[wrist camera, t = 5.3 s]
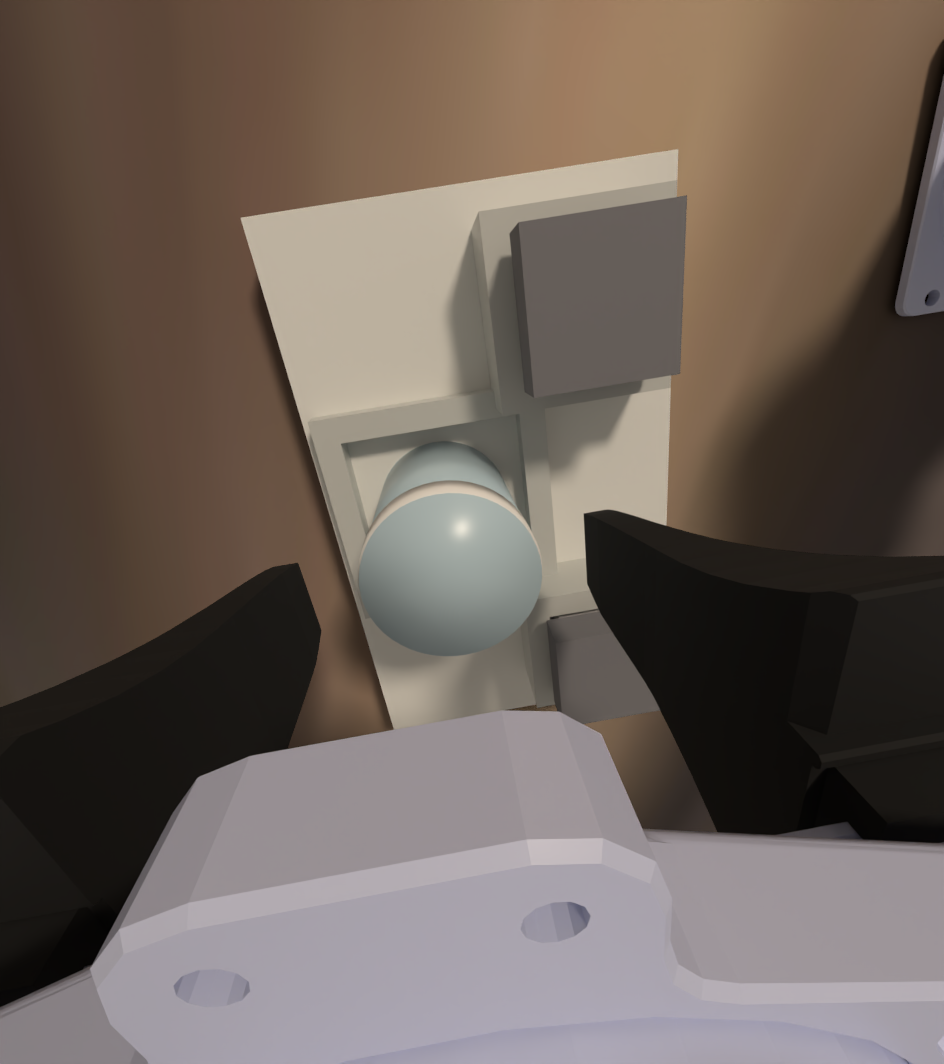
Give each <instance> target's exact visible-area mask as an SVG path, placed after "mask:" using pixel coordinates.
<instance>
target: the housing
mask: <svg viewBox="0 0 944 1064" xmlns="http://www.w3.org/2000/svg"><path fill="white" fill-rule="evenodd" d="M677 170H678V149H676V150H670V151H664V152H657V153H651V154H645V155H638V156H632V157H625V158H619V159H613V160H606V161H600V162H594V163H587V164H581V165H575V166H568V167H562V168H555V169H549V170H543V171H536V172H530V173H524V174H517V175H511V176H504V177H498V178H492V179H485V180H479V181H473V182H466V183H460V184H453V185H447V186H441V187H434V188H428V189H422V190H415V191H409V192H402V193H396V194H390V195H383V196H377V197H371V198H364V199H358V200H351V201H345V202H339V203H332V204H326V205H320V206H313V207H307V208H301V209H294V210H288V211H281V212H275V213H269V214H262V215H256V216H250V217H243V218H241V221H242V224H243V228H244V231H245V234H246V238H247V241H248V244H249V248H250V251H251V254H252V258H253V261H254V264H255V268H256V271H257V274H258V278H259V281H260V284H261V288H262V291H263V294H264V298H265V301H266V304H267V308H268V311H269V314H270V318H271V321H272V324H273V328H274V331H275V334H276V338H277V341H278V344H279V348H280V351H281V354H282V358H283V361H284V364H285V368H286V371H287V374H288V378H289V381H290V384H291V388H292V391H293V394H294V398H295V401H296V404H297V408H298V411H299V414H300V418H301V421H302V424H303V428H304V431H305V435H306V438H307V441H308V445H309V448H310V451H311V455H312V458H313V461H314V465H315V468H316V471H317V475H318V478H319V481H320V485H321V488H322V491H323V495H324V498H325V501H326V505H327V508H328V511H329V515H330V518H331V521H332V525H333V528H334V531H335V535H336V538H337V541H338V545H339V548H340V551H341V555H342V558H343V561H344V565H345V568H346V571H347V575H348V578H349V581H350V585H351V588H352V591H353V595H354V598H355V601H356V605H357V608H358V611H359V615H360V618H361V621H362V625H363V628H364V631H365V635H366V638H367V641H368V645H369V648H370V651H371V655H372V658H373V661H374V665H375V668H376V671H377V675H378V678H379V681H380V685H381V688H382V691H383V695H384V698H385V702H386V705H387V708H388V712H389V715H390V718H391V722H392V725H393V728H394V730H395V729H401V728H406V727H412V726H417V725H423V724H428V723H434V722H439V721H445V720H450V719H456V718H461V717H467V716H472V715H478V714H484V713H489V712H495V711H500V710H508V709H514V708H520V707H525V706H531V705H536V706H537V708H539V707H544V706H550V705H555V702H554V693H553V682H552V672H551V661H550V651H549V641H548V630H547V620H552V619H554V616H559V615H565V614H570V613H576V612H582V611H588V610H593V609H598V607H597V605H596V603H595V601H594V598H593V596H592V594H591V592H590V589H589V587H588V585H587V572H586V552H585V533H584V513H590V512H595V511H601V510H607V509H609V510H615V511H619V512H623V513H626V514H630V515H633V516H636V517H640V518H643V519H646V520H649V521H652V522H655V523H659V524H662V525H665V526H666V520H667V488H668V456H669V424H670V393H671V375H670V376H664V377H658V378H652V379H646V380H640V381H634V382H628V383H622V384H616V385H610V386H604V387H598V388H592V389H586V390H580V391H574V392H568V393H562V394H556V395H550V396H544V397H538V398H533V397H532V396H530V395H529V394H527V393H525V390H524V380H523V370H522V359H521V349H520V338H519V328H518V318H517V307H516V297H515V287H514V276H513V266H512V255H511V245H510V235H509V233H510V232H511V231H512V230H513V228H514V227H515V226H516V225H517V223H518V222H523V221H529V220H535V219H542V218H548V217H554V216H561V215H567V214H573V213H579V212H586V211H592V210H598V209H605V208H611V207H617V206H624V205H630V204H636V203H642V202H649V201H655V200H661V199H668V198H674V197H677ZM440 441H449V442H457V443H461V444H465V445H468V446H470V447H472V448H475V449H477V450H478V451H480V452H481V453H483V454H484V455H485V456H487V457H488V458H489V459H490V460H491V461H492V462H493V463H494V465H495V466H496V467H497V469H498V470H499V472H500V474H501V476H502V478H503V480H504V482H505V484H506V486H507V488H508V490H509V492H510V494H511V496H512V498H513V500H514V502H515V504H516V506H517V508H518V510H519V511H520V513H521V514H522V516H523V517H524V518H525V520H526V522H527V524H528V526H529V528H530V530H531V532H532V534H533V536H534V538H535V540H536V542H537V544H538V547H539V550H540V554H541V560H542V582H541V589H540V592H539V596H538V599H537V601H536V604H535V606H534V608H533V610H532V611H531V613H530V615H529V616H528V617H527V619H526V620H525V621H524V623H523V624H522V625H521V626H520V627H519V628H518V629H517V630H516V631H515V632H514V633H512V634H511V635H510V636H509V637H507V638H506V639H504V640H503V641H501V642H499V643H498V644H496V645H494V646H492V647H490V648H487V649H485V650H482V651H479V652H476V653H471V654H467V655H460V656H435V655H429V654H424V653H420V652H417V651H414V650H411V649H409V648H407V647H404V646H402V645H400V644H399V643H397V642H395V641H394V640H392V639H391V638H390V637H388V636H387V635H386V634H384V633H383V632H382V631H381V630H380V629H379V628H378V627H377V626H376V624H375V623H374V622H373V620H372V619H371V618H370V616H369V614H368V612H367V610H366V609H365V606H364V604H363V601H362V598H361V594H360V589H359V584H358V565H359V559H360V555H361V551H362V548H363V545H364V541H365V538H366V536H367V533H368V531H369V528H370V526H371V525H372V522H373V519H374V515H375V512H376V509H377V505H378V502H379V499H380V495H381V492H382V489H383V486H384V482H385V480H386V478H387V475H388V474H389V472H390V470H391V469H392V467H393V466H394V465H395V463H396V462H397V461H398V460H399V459H400V458H401V457H402V456H404V455H405V454H407V453H408V452H409V451H411V450H413V449H415V448H417V447H419V446H422V445H424V444H428V443H432V442H440Z"/></svg>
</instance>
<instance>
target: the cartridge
mask: <svg viewBox="0 0 944 1064" xmlns="http://www.w3.org/2000/svg"><path fill="white" fill-rule="evenodd" d="M541 582H542V560H541V554H540V550H539V547H538V544H537V542H536V540H535V538H534V536H533V534H532V532H531V530H530V528H529V526H528V524H527V522H526V520H525V518H524V517H523V516H522V514H521V513H520V511H519V510H518V508H517V506H516V504H515V502H514V500H513V498H512V496H511V494H510V492H509V490H508V488H507V486H506V484H505V482H504V480H503V478H502V476H501V474H500V472H499V470H498V469H497V467H496V466H495V465H494V463H493V462H492V461H491V460H490V459H489V458H488V457H487V456H485V455H484V454H483V453H481V452H480V451H478V450H477V449H475V448H472V447H470V446H468V445H465V444H461V443H457V442H449V441H440V442H432V443H428V444H424V445H422V446H419V447H417V448H415V449H413V450H411V451H409V452H408V453H407V454H405V455H404V456H402V457H401V458H400V459H399V460H398V461H397V462H396V463H395V465H394V466H393V467H392V469H391V470H390V472H389V474H388V475H387V478H386V480H385V482H384V486H383V489H382V492H381V495H380V499H379V502H378V505H377V509H376V512H375V515H374V519H373V522H372V525H371V526H370V528H369V531H368V533H367V536H366V538H365V541H364V545H363V548H362V551H361V555H360V559H359V565H358V584H359V589H360V594H361V598H362V601H363V604H364V606H365V609H366V610H367V612H368V614H369V616H370V618H371V619H372V620H373V622H374V623H375V624H376V626H377V627H378V628H379V629H380V630H381V631H382V632H383V633H384V634H386V635H387V636H388V637H390V638H391V639H392V640H394V641H395V642H397V643H399V644H400V645H402V646H404V647H407V648H409V649H411V650H414V651H417V652H420V653H424V654H429V655H435V656H460V655H467V654H471V653H476V652H479V651H482V650H485V649H487V648H490V647H492V646H494V645H496V644H498V643H499V642H501V641H503V640H504V639H506V638H507V637H509V636H510V635H511V634H512V633H514V632H515V631H516V630H517V629H518V628H519V627H520V626H521V625H522V624H523V623H524V621H525V620H526V619H527V617H528V616H529V615H530V613H531V611H532V610H533V608H534V606H535V604H536V601H537V599H538V596H539V592H540V589H541Z"/></svg>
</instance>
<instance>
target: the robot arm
mask: <svg viewBox="0 0 944 1064" xmlns="http://www.w3.org/2000/svg"><path fill="white" fill-rule="evenodd" d="M927 294H928V300H927V302H926V303H925V298H926V296H927ZM895 310H896V312H897V314H899V315H900V316H917V315H923V314H929V313H935V312H941V311H944V76H943V81H942V85H941V90H940V95H939V99H938V104H937V109H936V114H935V118H934V123H933V128H932V132H931V137H930V142H929V147H928V151H927V156H926V161H925V165H924V170H923V175H922V180H921V184H920V189H919V194H918V198H917V203H916V208H915V213H914V217H913V222H912V227H911V231H910V236H909V241H908V246H907V250H906V255H905V260H904V265H903V269H902V274H901V279H900V283H899V288H898V293H897V298H896V302H895ZM584 533H585V552H586V572H587V585H588V587H589V589H590V592H591V594H592V596H593V598H594V601H595V603H596V605H597V607H598V609H599V611H600V614H601V615H602V617H603V618H604V620H605V622H606V623H607V625H608V626H609V628H610V629H611V631H612V632H613V634H614V636H615V637H616V639H617V640H618V642H619V643H620V645H621V646H622V648H623V649H624V651H625V652H626V654H627V655H628V657H629V658H630V660H631V662H632V663H633V665H634V666H635V668H636V669H637V671H638V672H639V674H640V675H641V677H642V678H643V680H644V681H645V683H646V685H647V687H648V688H649V690H650V692H651V693H652V695H653V697H654V699H655V701H656V703H657V705H658V707H659V709H660V711H661V712H662V714H663V716H664V718H665V720H666V722H667V724H668V726H669V728H670V730H671V732H672V734H673V736H674V739H675V741H676V743H677V745H678V747H679V749H680V751H681V753H682V755H683V757H684V759H685V762H686V764H687V766H688V768H689V770H690V772H691V774H692V776H693V778H694V781H695V783H696V785H697V787H698V790H699V792H700V794H701V796H702V799H703V801H704V803H705V805H706V807H707V810H708V812H709V814H710V816H711V819H712V821H713V823H714V825H715V827H716V830H717V832H700V831H680V830H660V829H642V827H641V825H640V822H639V820H638V818H637V816H636V813H635V811H634V809H633V806H632V804H631V802H630V799H629V797H628V795H627V792H626V790H625V788H624V785H623V783H622V781H621V779H620V776H619V774H618V772H617V769H616V767H615V765H614V762H613V760H612V758H611V756H610V753H609V751H608V749H607V746H606V744H605V742H604V739H603V737H602V735H601V734H600V733H598V732H596V731H594V730H593V729H591V728H589V727H587V726H585V725H583V724H581V723H579V722H578V721H576V720H574V719H572V718H570V717H568V716H566V715H565V714H563V713H561V712H556V711H511V710H500V711H495V712H489V713H484V714H478V715H472V716H467V717H461V718H456V719H450V720H445V721H439V722H434V723H428V724H423V725H417V726H412V727H406V728H401V729H395V730H390V731H384V732H379V733H373V734H368V735H362V736H357V737H351V738H346V739H340V740H335V741H329V742H323V743H318V744H312V745H307V746H301V747H296V748H290V749H288V745H289V742H290V739H291V736H292V734H293V731H294V728H295V725H296V722H297V719H298V716H299V713H300V710H301V707H302V704H303V701H304V699H305V696H306V693H307V690H308V687H309V684H310V681H311V678H312V675H313V671H314V668H315V665H316V660H317V655H318V649H319V643H320V636H321V628H320V625H319V622H318V619H317V616H316V614H315V611H314V608H313V605H312V602H311V599H310V596H309V593H308V590H307V588H306V585H305V582H304V579H303V576H302V573H301V570H300V567H299V564H298V563H294V564H288V565H282V566H276V567H272V568H270V569H268V570H266V571H264V572H262V573H260V574H258V575H257V576H255V577H253V578H252V579H250V580H248V581H247V582H245V583H244V584H242V585H241V586H239V587H237V588H236V589H234V590H233V591H231V592H230V593H228V594H227V595H225V596H224V597H222V598H221V599H219V600H218V601H216V602H214V603H213V604H211V605H210V606H208V607H207V608H205V609H203V610H202V611H200V612H199V613H197V614H195V615H194V616H192V617H190V618H189V619H187V620H186V621H184V622H182V623H181V624H179V625H177V626H176V627H174V628H172V629H171V630H169V631H167V632H166V633H164V634H162V635H160V636H159V637H157V638H155V639H153V640H151V641H149V642H148V643H146V644H144V645H142V646H140V647H138V648H136V649H134V650H132V651H130V652H128V653H126V654H124V655H123V656H121V657H119V658H116V659H114V660H112V661H110V662H108V663H106V664H104V665H101V666H99V667H97V668H95V669H92V670H90V671H88V672H86V673H84V674H81V675H79V676H77V677H75V678H72V679H70V680H68V681H66V682H63V683H61V684H59V685H57V686H54V687H52V688H49V689H47V690H44V691H42V692H39V693H37V694H34V695H32V696H29V697H27V698H24V699H22V700H19V701H17V702H14V703H11V704H8V705H6V706H3V707H0V1064H944V556H911V557H877V556H848V555H830V554H815V553H804V552H795V551H785V550H776V549H769V548H761V547H755V546H749V545H744V544H738V543H732V542H727V541H722V540H718V539H713V538H709V537H705V536H701V535H697V534H693V533H689V532H686V531H682V530H679V529H675V528H672V527H668V526H665V525H662V524H659V523H655V522H652V521H649V520H646V519H643V518H640V517H636V516H633V515H630V514H626V513H623V512H619V511H615V510H609V509H607V510H601V511H595V512H590V513H584Z"/></svg>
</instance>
